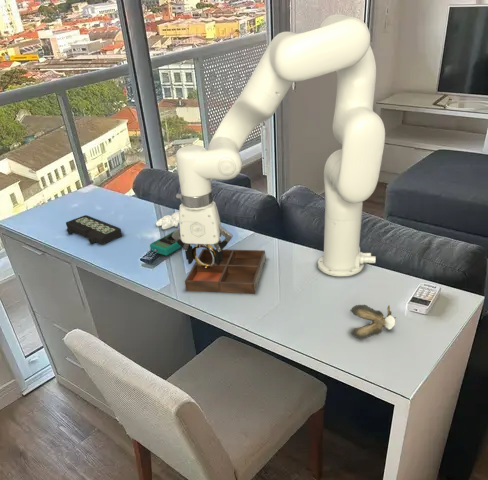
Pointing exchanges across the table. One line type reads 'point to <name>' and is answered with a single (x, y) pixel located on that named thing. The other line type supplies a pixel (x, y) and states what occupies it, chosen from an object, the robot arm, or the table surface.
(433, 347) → the table surface
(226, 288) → the tray
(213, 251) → the ring
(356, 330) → the eagle figurine
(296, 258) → the table surface
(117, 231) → the digital display
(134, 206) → the table surface
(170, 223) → the astronaut figurine
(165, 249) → the digital multimeter
